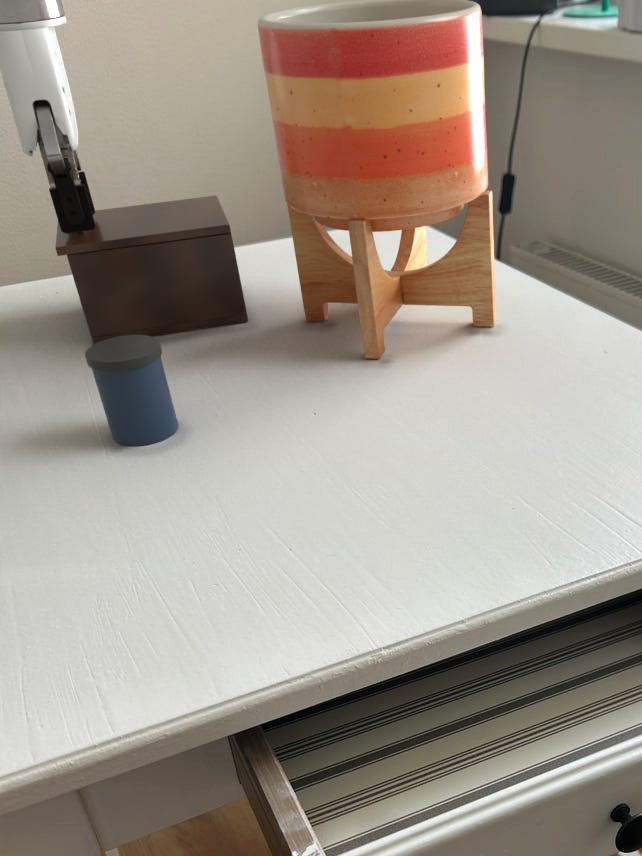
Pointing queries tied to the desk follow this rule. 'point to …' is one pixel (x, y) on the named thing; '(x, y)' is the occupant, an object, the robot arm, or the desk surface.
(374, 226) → the planter
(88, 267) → the chest
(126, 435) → the canister
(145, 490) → the desk surface
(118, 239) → the lid
